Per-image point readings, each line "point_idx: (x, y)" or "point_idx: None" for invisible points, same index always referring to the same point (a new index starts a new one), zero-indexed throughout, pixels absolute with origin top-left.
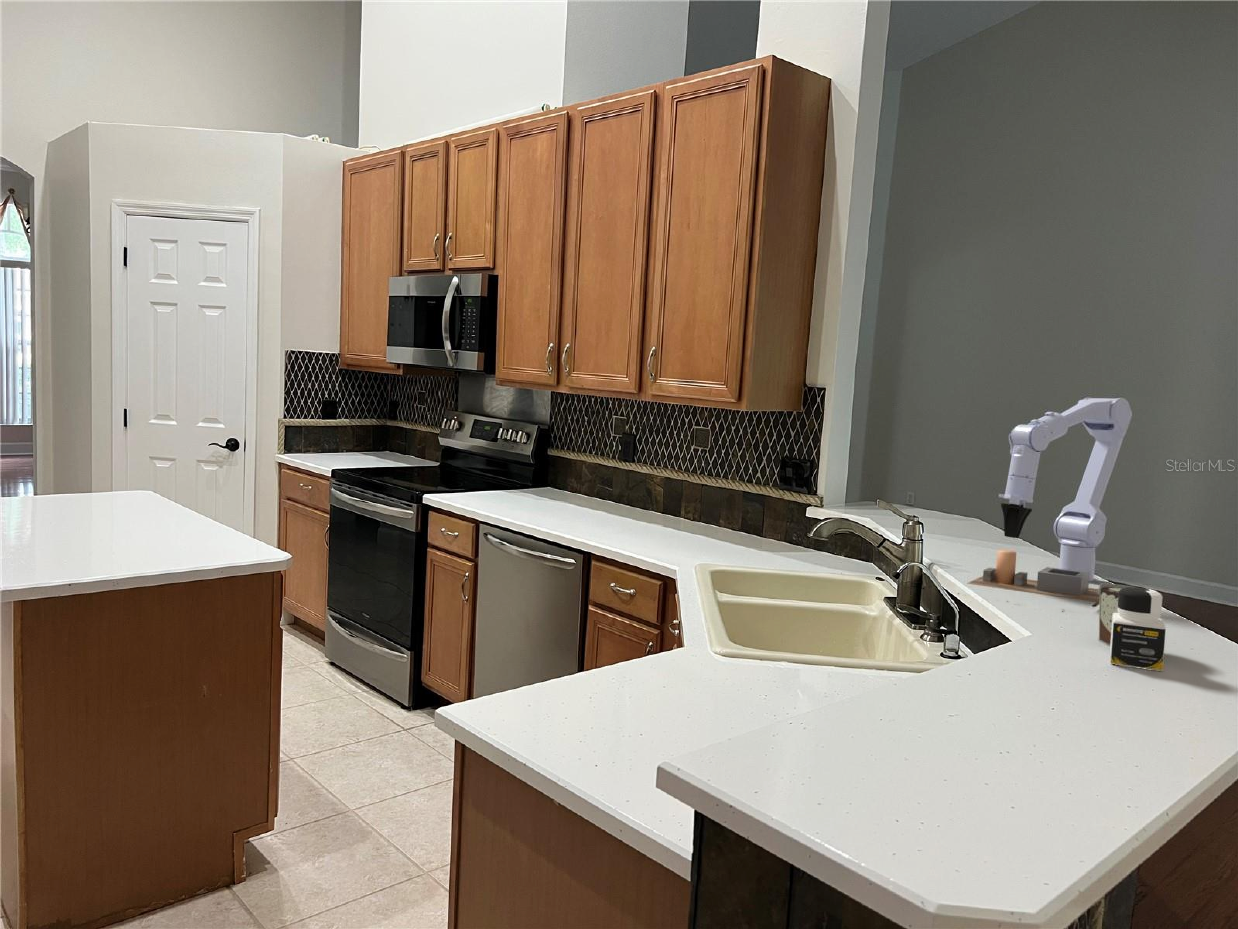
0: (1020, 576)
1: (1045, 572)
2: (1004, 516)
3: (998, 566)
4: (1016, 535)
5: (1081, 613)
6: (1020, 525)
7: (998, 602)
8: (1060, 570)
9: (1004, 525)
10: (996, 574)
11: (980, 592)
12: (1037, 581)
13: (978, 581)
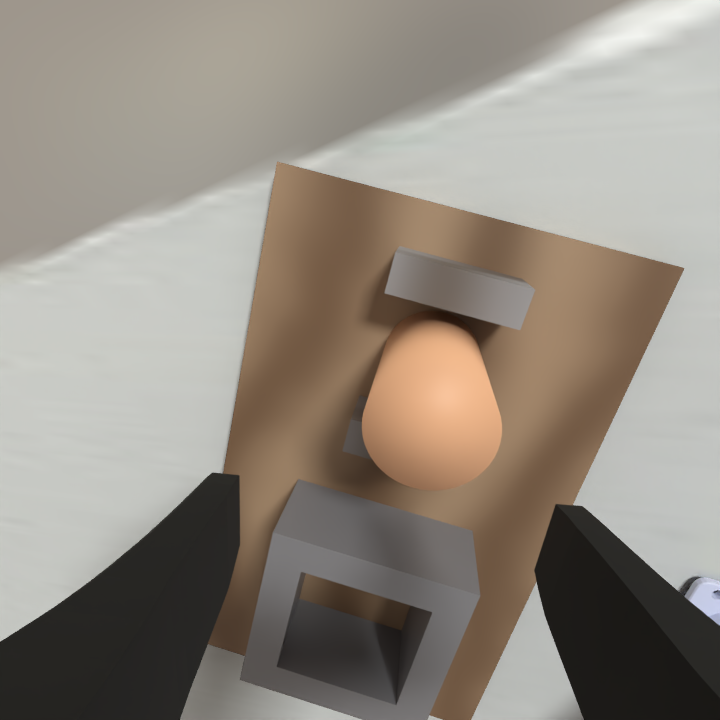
0: (345, 441)
1: (283, 563)
2: (31, 625)
3: (395, 345)
4: (546, 580)
5: (61, 565)
6: (590, 706)
7: (37, 314)
8: (423, 637)
9: (148, 535)
10: (412, 323)
11: (205, 237)
12: (287, 503)
13: (373, 222)
